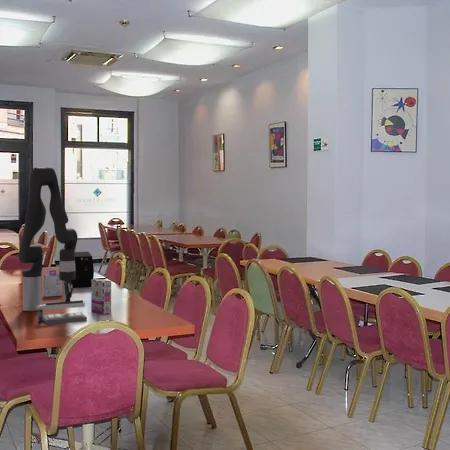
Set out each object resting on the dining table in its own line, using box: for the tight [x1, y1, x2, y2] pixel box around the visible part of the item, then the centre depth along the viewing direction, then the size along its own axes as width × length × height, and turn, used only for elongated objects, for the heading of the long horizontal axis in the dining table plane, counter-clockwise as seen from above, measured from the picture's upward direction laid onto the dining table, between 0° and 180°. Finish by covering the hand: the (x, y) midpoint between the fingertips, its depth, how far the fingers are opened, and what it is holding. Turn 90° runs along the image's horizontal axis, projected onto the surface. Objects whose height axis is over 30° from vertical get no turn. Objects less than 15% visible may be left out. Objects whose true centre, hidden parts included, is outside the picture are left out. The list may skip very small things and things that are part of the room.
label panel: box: [43, 311, 88, 326], centre depth 278 cm, size 12×18×3 cm, turn 116°
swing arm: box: [37, 299, 86, 311], centre depth 277 cm, size 22×3×3 cm, turn 116°
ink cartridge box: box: [43, 270, 63, 297], centre depth 346 cm, size 10×6×14 cm, turn 114°
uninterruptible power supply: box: [71, 251, 95, 289], centre depth 389 cm, size 16×34×20 cm, turn 17°
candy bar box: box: [90, 278, 112, 315], centre depth 297 cm, size 11×5×16 cm, turn 45°
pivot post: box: [37, 310, 44, 324], centre depth 274 cm, size 2×2×6 cm
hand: (67, 305), depth 286 cm, fingers closed
